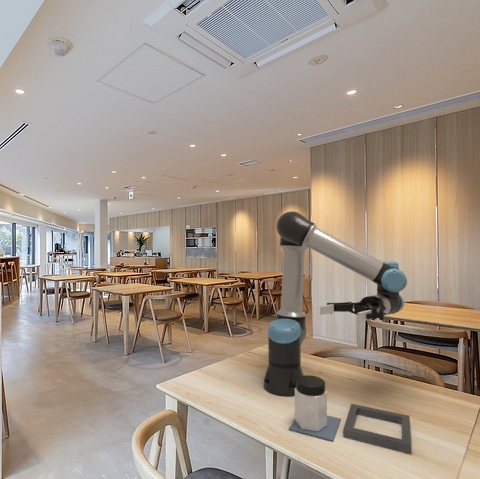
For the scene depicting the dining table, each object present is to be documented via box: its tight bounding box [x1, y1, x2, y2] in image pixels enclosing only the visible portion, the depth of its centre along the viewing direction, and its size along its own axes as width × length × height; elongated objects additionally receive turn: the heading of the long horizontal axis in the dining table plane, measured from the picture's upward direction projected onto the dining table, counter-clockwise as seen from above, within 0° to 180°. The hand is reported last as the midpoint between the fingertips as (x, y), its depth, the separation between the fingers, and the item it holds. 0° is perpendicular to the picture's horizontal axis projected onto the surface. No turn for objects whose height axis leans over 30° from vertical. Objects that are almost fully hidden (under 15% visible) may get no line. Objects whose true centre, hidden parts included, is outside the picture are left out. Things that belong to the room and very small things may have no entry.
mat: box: [288, 414, 342, 443], centre depth 90 cm, size 12×12×1 cm
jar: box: [294, 374, 328, 432], centre depth 91 cm, size 9×8×12 cm
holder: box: [342, 403, 412, 455], centre depth 88 cm, size 16×16×2 cm
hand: (338, 313), depth 99 cm, fingers open, 13 cm apart
